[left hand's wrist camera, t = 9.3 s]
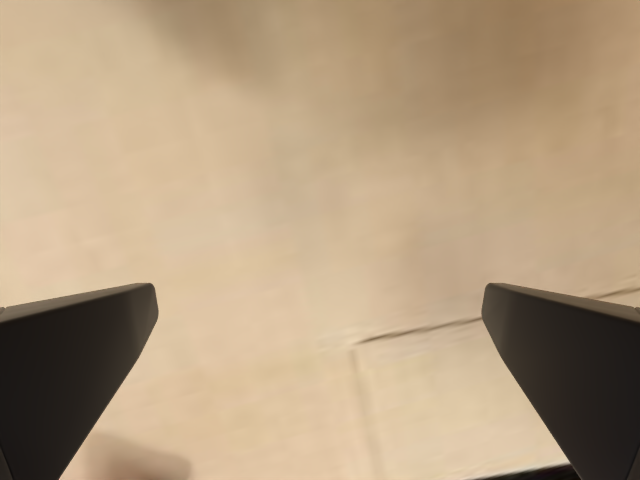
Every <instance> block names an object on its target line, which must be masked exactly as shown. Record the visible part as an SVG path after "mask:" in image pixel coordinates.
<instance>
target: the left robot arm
mask: <svg viewBox="0 0 640 480" xmlns="http://www.w3.org/2000/svg"><path fill="white" fill-rule="evenodd" d="M157 319H158V305H157V299H156V293H155V288H154V286H153V284H151V283H135V284H130V285H124V286H119V287H113V288H108V289H103V290H97V291H92V292H86V293H81V294H75V295H70V296H64V297H59V298H53V299H48V300H42V301H37V302H32V303H26V304H21V305H15V306H10V307H6V309H5V308H4V307H1V308H0V480H59V478H60V477H61V475H62V474H63V472H64V471H65V469H66V468H67V466H68V464H69V463H70V461H71V460H72V458H73V457H74V455H75V454H76V452H77V451H78V449H79V448H80V446H81V445H82V443H83V442H84V440H85V439H86V437H87V436H88V434H89V433H90V431H91V430H92V428H93V427H94V425H95V424H96V422H97V421H98V419H99V417H100V416H101V414H102V413H103V411H104V410H105V408H106V407H107V405H108V404H109V402H110V401H111V399H112V398H113V396H114V395H115V393H116V392H117V390H118V389H119V387H120V386H121V384H122V383H123V381H124V380H125V378H126V377H127V375H128V373H129V372H130V370H131V369H132V367H133V366H134V364H135V363H136V361H137V359H138V358H139V356H140V354H141V352H142V350H143V348H144V346H145V344H146V342H147V340H148V338H149V336H150V334H151V332H152V330H153V328H154V326H155V324H156V322H157ZM482 319H483V322H484V324H485V326H486V328H487V330H488V332H489V334H490V336H491V338H492V340H493V342H494V344H495V346H496V348H497V350H498V352H499V354H500V356H501V358H502V359H503V361H504V363H505V364H506V366H507V367H508V369H509V370H510V372H511V373H512V375H513V376H514V378H515V380H516V381H517V383H518V384H519V386H520V387H521V389H522V390H523V392H524V393H525V395H526V396H527V398H528V399H529V401H530V402H531V404H532V405H533V407H534V408H535V410H536V411H537V413H538V414H539V416H540V417H541V419H542V420H543V422H544V423H545V425H546V426H547V428H548V430H549V431H550V433H551V434H552V436H553V437H554V439H555V440H556V442H557V443H558V445H559V446H560V448H561V449H562V451H563V452H564V454H565V455H566V457H567V458H568V460H569V461H570V463H571V464H572V466H573V467H574V469H575V471H576V472H577V474H578V475H579V477H580V478H581V480H640V308H639V307H636V308H635V309H634V308H633V307H631V306H625V305H620V304H614V303H609V302H603V301H598V300H592V299H587V298H581V297H576V296H570V295H565V294H559V293H554V292H549V291H543V290H538V289H532V288H527V287H521V286H516V285H510V284H505V283H489V284H487V286H486V288H485V293H484V299H483V305H482Z"/></svg>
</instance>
